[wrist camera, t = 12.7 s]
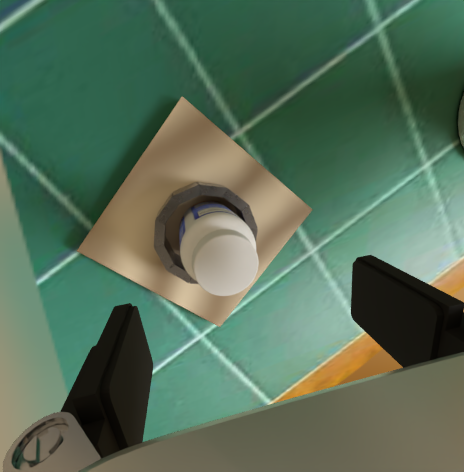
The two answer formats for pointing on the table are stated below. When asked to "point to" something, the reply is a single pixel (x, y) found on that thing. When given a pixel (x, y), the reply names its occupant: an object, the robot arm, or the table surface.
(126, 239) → the stand plate
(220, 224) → the pill bottle
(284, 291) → the table surface
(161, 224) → the collar
